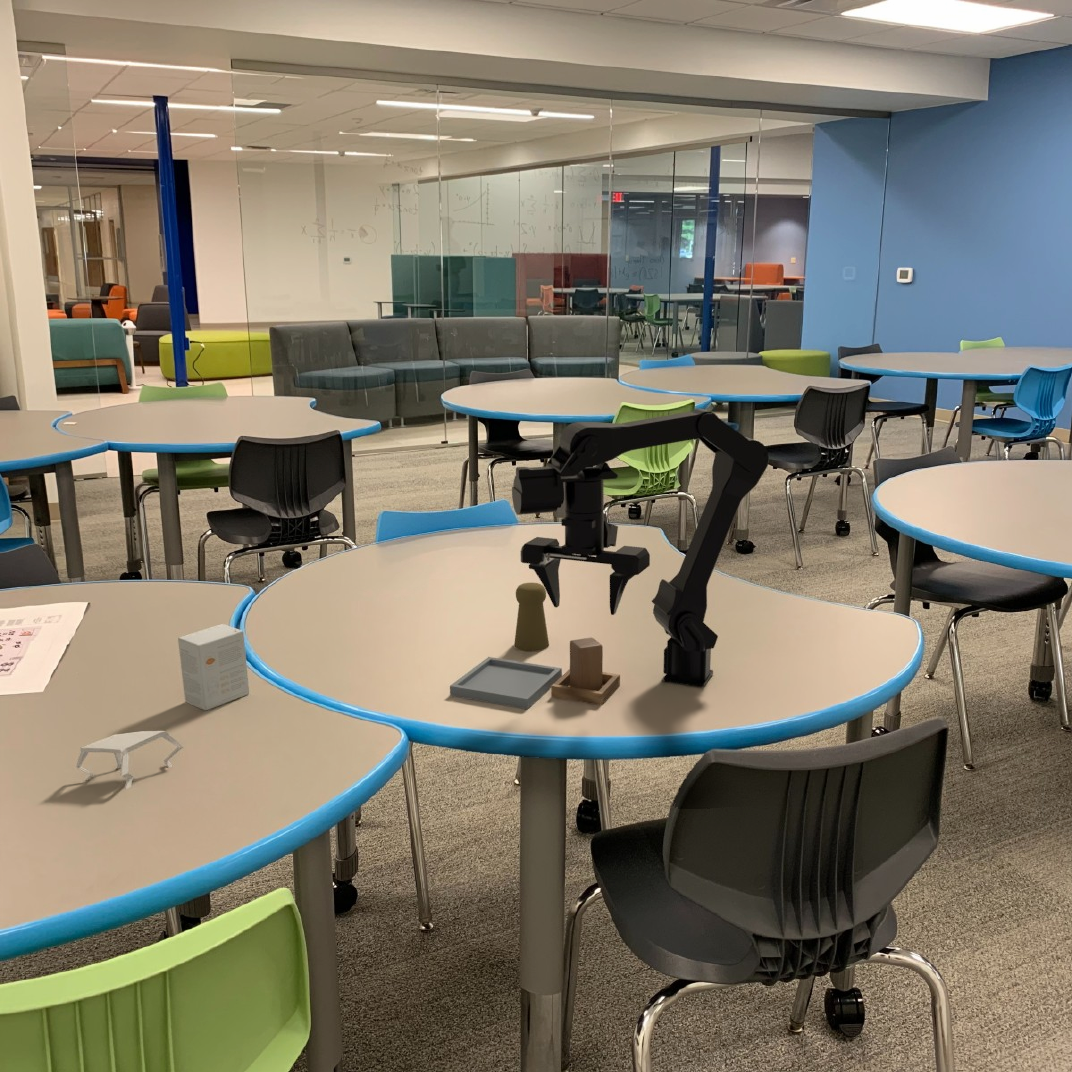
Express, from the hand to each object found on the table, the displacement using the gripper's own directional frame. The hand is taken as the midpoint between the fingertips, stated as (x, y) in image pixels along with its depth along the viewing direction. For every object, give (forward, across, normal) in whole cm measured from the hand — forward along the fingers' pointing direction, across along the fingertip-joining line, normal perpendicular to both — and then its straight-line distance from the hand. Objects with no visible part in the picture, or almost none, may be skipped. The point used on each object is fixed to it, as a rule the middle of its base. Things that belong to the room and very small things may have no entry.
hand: (584, 610), depth 152 cm
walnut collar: (+13, 0, 0) cm, 13 cm away
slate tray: (+13, +12, +4) cm, 18 cm away
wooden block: (+13, 0, 0) cm, 13 cm away
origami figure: (+13, +43, +48) cm, 66 cm away
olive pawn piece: (+13, +16, -14) cm, 25 cm away
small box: (+13, +50, +25) cm, 58 cm away
